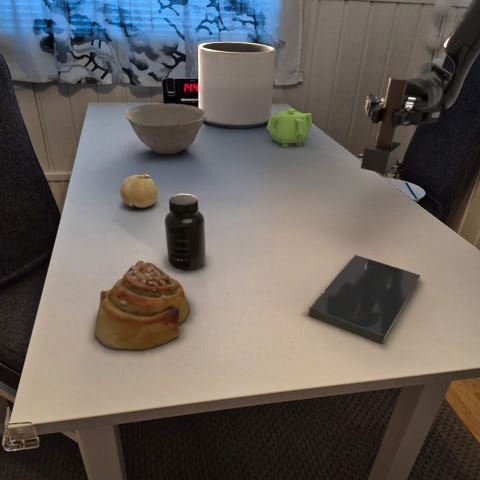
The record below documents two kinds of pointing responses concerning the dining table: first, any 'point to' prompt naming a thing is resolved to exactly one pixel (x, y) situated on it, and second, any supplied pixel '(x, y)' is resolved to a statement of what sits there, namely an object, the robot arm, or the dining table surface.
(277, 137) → the teapot
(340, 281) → the slate board
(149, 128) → the ceramic bowl
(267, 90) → the planter
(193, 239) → the supplement bottle
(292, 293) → the dining table surface
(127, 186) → the onion
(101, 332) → the pastry
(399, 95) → the wooden mallet
